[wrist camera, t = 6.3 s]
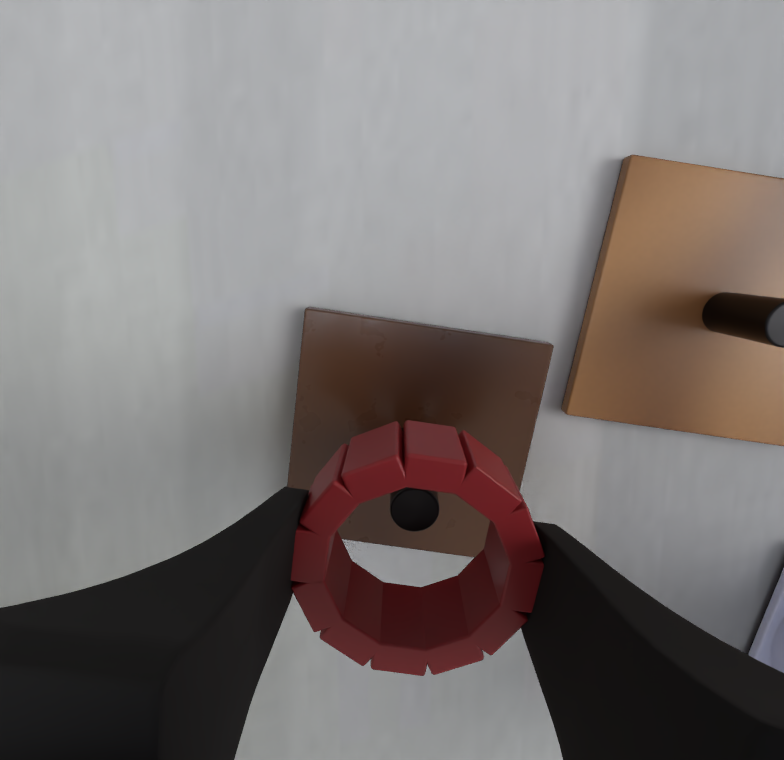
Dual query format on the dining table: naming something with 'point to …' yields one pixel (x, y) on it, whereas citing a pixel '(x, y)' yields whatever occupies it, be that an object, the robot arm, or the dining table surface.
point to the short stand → (687, 305)
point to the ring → (408, 603)
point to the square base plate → (413, 413)
